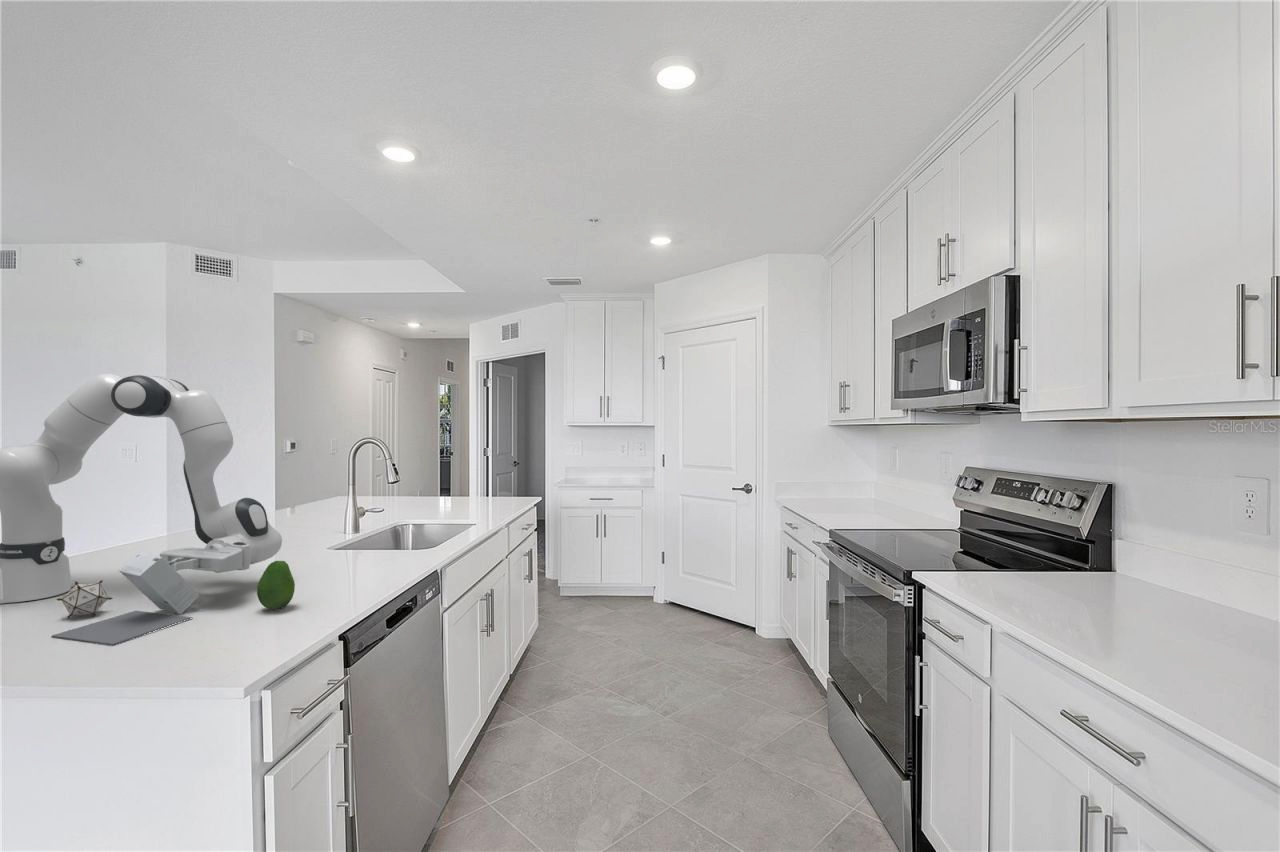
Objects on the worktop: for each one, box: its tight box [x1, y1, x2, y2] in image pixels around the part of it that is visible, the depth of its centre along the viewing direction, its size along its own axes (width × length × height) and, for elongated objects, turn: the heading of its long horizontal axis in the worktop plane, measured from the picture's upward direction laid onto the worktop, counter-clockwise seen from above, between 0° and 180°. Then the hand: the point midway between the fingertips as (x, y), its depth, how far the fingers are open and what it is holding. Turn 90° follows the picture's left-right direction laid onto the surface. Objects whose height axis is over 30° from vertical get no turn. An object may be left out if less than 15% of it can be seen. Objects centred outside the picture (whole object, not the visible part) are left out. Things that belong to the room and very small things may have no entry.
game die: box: [56, 579, 114, 619], centre depth 140 cm, size 9×8×10 cm
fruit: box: [256, 560, 296, 611], centre depth 147 cm, size 8×8×12 cm
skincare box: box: [117, 551, 201, 615], centre depth 141 cm, size 8×6×15 cm
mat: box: [51, 610, 193, 647], centre depth 133 cm, size 17×17×1 cm
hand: (170, 566), depth 142 cm, fingers closed
